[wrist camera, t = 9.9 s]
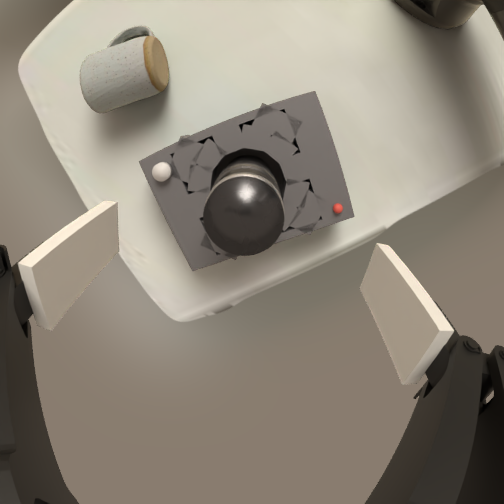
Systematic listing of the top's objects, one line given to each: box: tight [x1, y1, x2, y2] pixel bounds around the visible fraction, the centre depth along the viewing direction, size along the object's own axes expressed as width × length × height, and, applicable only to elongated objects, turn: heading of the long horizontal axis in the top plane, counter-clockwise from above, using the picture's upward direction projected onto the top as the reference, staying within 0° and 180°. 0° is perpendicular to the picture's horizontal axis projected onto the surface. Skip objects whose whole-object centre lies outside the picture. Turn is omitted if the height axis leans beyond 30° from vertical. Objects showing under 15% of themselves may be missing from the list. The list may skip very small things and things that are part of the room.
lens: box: [203, 155, 284, 256], centre depth 23 cm, size 6×6×12 cm
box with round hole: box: [139, 91, 354, 271], centre depth 28 cm, size 18×14×7 cm
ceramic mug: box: [80, 26, 169, 113], centre depth 22 cm, size 11×8×8 cm
